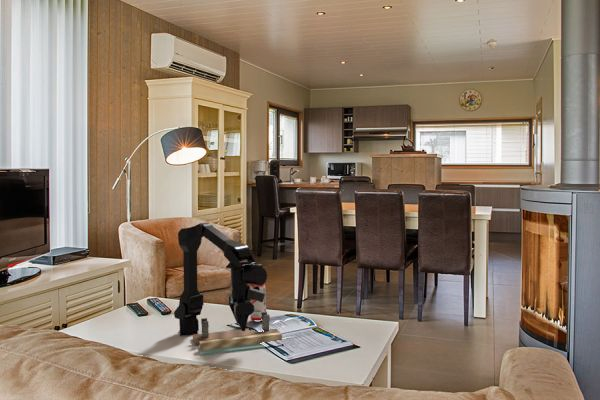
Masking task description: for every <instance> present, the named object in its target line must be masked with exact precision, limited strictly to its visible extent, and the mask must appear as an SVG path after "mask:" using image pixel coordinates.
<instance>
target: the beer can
mask: <svg viewBox="0 0 600 400" xmlns="http://www.w3.org/2000/svg"><path fill="white" fill-rule="evenodd" d="M254 285H255V284H249V286H250V288H253V286H254ZM255 286H258V287H259V289H260V290H261V291H263V292H264V293H265V297H264V300H263V302H259V301H257V300H253V299H251V301H250V302H251V303H252V304H253V305H254V312H253V313H252V314H251V315H250V321H252V322H253V321H254V320H261V319H262V318H261V312H267V302H266V301H267V298H266V297H267V296H266V283H264V284H263V285H255Z"/></svg>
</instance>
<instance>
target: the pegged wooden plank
mask: <svg viewBox="0 0 600 400" xmlns="http://www.w3.org/2000/svg"><path fill="white" fill-rule="evenodd" d="M261 318H262V322H261V324H262V325H261V327H262V329H263V330H264V331H269V326H270V321H271V320H270V314H268V312H267V311H266V312H261ZM200 323H201V334H202V337H203V338H209V333H210V332H209V320H208V318H207V317H203V318H202V317H201V318H200Z"/></svg>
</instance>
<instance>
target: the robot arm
mask: <svg viewBox="0 0 600 400" xmlns="http://www.w3.org/2000/svg"><path fill="white" fill-rule="evenodd" d="M203 238H205V239H206V240H208V241H209V242H210V243H212V244H213V245H214V246H215V247H217V248H219V250H221V251H222V254H223V256H224V257H225V258H226V259H227V261H228V262H229V263H228V264H227V265H225V269H230V286H229V287H230V290H231V292H229V293H228V294H227V295H226V296H227V302H228V306H229V308H230V311H231V313H232V315H233V317H234V320H235V321H236V322H235V323H236V324H238V325H239V327H240V329H241V330H242V331H245V330H246V329H247V324H248V320H249V316H251V314H252V313H253V312H254V305H253V304H252V303H251V302H250V301H251V299H253V300H257V301H259V302H263V300H264V297H265V293H266V292H265V293H264V292H263V291H261V290H260V289H259V287H258V286H255V285H263V284H266V282H267V279H268V273H267V270H266V269H265V268H263V264H262V263H258V264H257V260H256V259H255V258H254V256H253V254H252V252H251V249H250V247H249V246H248V245H247V244H245V243H243V242H241V241H237V240H233V239H231V238H230V237H229V236H227V235H226V234H224V233H223V232H221V231H220V230H219V229H217V228H216V227H214V226H213V224H212V223H211V222H208V221H207V222H199V223H198V224H196V225H194V226H190V227H184V228H183V227H182V228H181V229H180V230H179V231H178V233H177V239H178V245H179V248H180V249H181V250H182V252H183V256H182V257H183V263H182V264H183V291H182V292H181V295H180V297H179V302H178V306H177V307H176V309H175V310H174V312H173V315H174V319H178V324H179V330H178V331H179V336H180V337H181V336H190V335H192V336H193V335H195V334H199V330H200V329H199V327H200V325H199V319H198V317H197V316H200V315H201V313H202V310H203V307H204V306H205V305H204V304H205V303H204V294H203V293H202V294H201V293H200V291H199V289H198V250H199V248H200V247H201V244H202V240H203ZM250 284H255V285H254V286H253V288H250Z"/></svg>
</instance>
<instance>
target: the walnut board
mask: <svg viewBox="0 0 600 400" xmlns="http://www.w3.org/2000/svg"><path fill="white" fill-rule="evenodd" d="M247 329H248V328H246V330H245V331H242V330H241V328H240V329H232V330H225V331H224V330H223V331H214V332H213V331H212V332H208V333H209V338H203V337H202V333H198V334H192V340H193V342H194V343H193V344H194V346H199V341H207V340H216V339H224V338H233V337H242V336H250V335H259V334H268V333H277V332H280V331H279V330H278V329H277V328H276V329H270V330H269V331H264V332H263V331H262V332H258V331H255V330H251V331H250V330H247Z"/></svg>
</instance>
